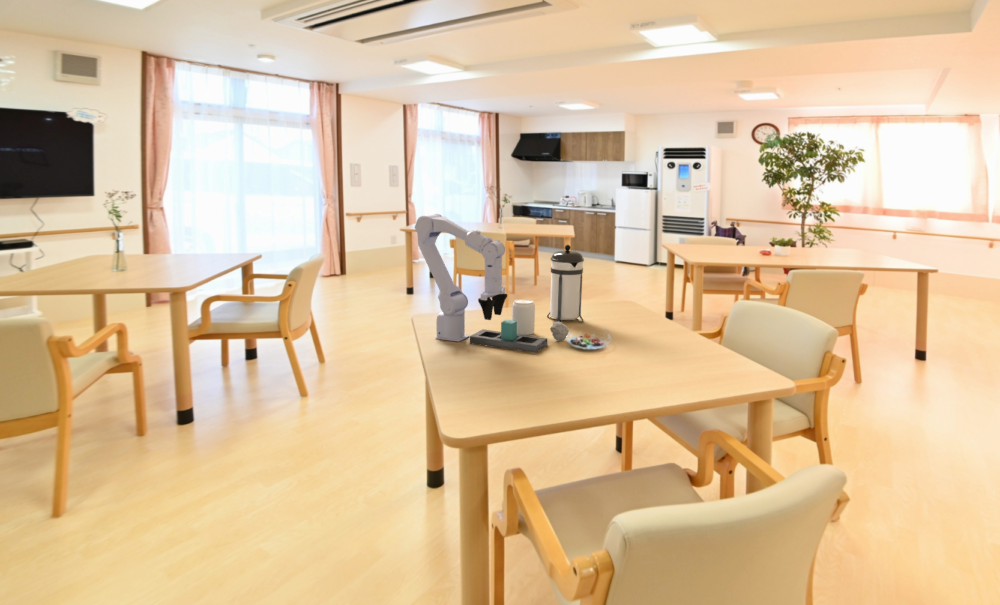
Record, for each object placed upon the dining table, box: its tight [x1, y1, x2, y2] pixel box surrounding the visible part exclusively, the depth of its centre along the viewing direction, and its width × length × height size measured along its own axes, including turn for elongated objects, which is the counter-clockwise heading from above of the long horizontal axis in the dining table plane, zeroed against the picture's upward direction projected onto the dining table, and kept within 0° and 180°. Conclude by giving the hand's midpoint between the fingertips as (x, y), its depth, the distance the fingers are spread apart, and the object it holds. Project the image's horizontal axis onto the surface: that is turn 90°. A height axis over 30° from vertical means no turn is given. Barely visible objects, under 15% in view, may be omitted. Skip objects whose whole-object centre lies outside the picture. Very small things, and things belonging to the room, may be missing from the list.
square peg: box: [500, 319, 517, 341], centre depth 204 cm, size 4×4×8 cm
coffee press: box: [546, 244, 585, 324], centre depth 235 cm, size 17×16×30 cm
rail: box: [469, 328, 548, 354], centre depth 204 cm, size 24×10×2 cm, turn 65°
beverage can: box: [511, 298, 536, 336], centre depth 217 cm, size 8×8×12 cm
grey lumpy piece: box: [550, 321, 570, 342], centre depth 209 cm, size 6×7×7 cm
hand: (492, 317), depth 203 cm, fingers open, 7 cm apart
